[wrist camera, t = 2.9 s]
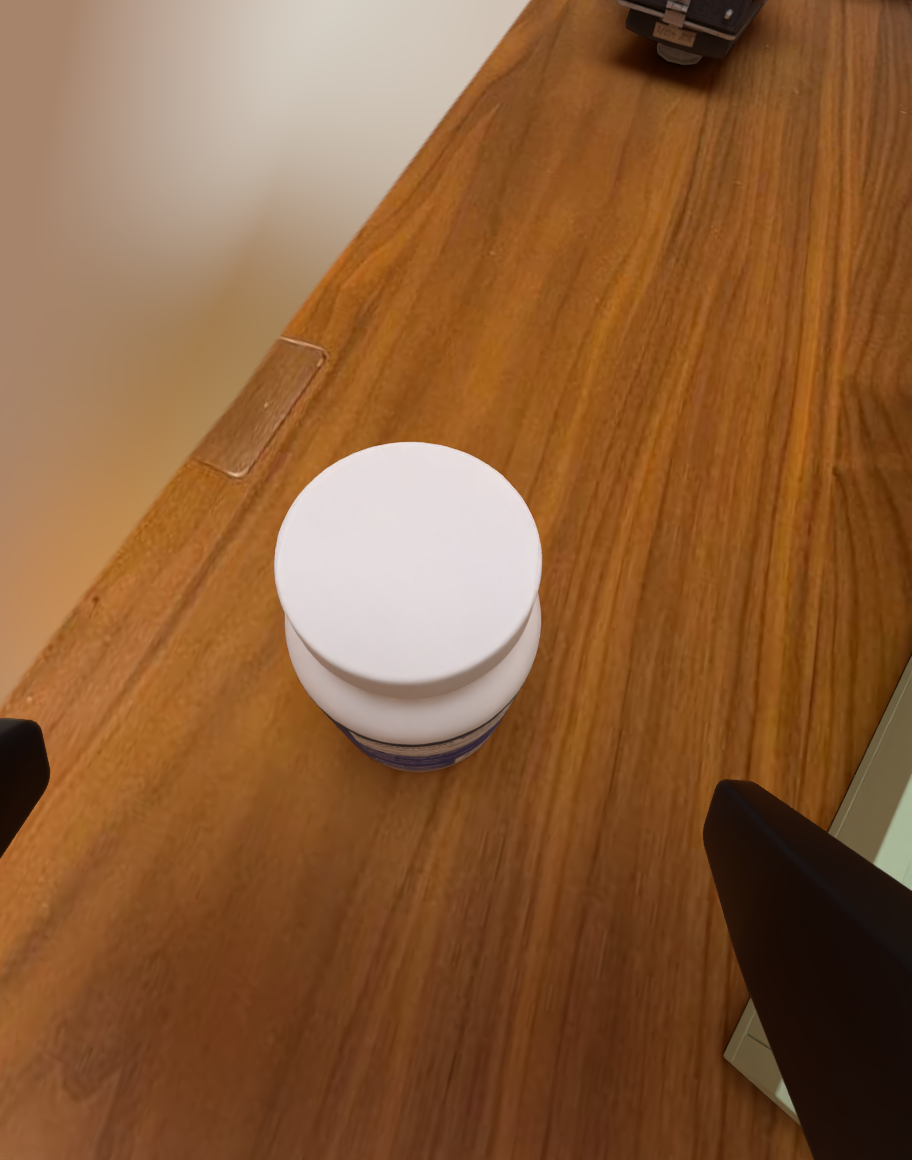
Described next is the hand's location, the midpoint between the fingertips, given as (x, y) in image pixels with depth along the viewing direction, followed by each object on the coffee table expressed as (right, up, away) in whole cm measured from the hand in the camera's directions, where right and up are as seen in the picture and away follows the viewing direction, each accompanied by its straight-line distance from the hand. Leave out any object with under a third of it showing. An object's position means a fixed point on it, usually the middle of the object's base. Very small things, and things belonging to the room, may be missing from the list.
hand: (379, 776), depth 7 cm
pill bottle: (0, -1, +11) cm, 11 cm away
